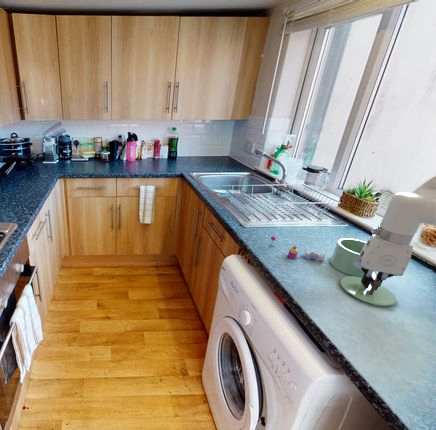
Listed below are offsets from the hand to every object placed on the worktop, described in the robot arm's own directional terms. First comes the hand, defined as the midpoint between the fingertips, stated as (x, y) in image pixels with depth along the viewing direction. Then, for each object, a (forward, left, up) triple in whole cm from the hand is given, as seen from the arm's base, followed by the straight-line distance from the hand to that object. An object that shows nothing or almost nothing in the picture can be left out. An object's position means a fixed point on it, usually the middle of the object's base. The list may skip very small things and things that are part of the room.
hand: (368, 286), depth 90 cm
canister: (0, -15, -2) cm, 15 cm away
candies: (+18, -16, -3) cm, 24 cm away
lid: (0, 0, -2) cm, 2 cm away
